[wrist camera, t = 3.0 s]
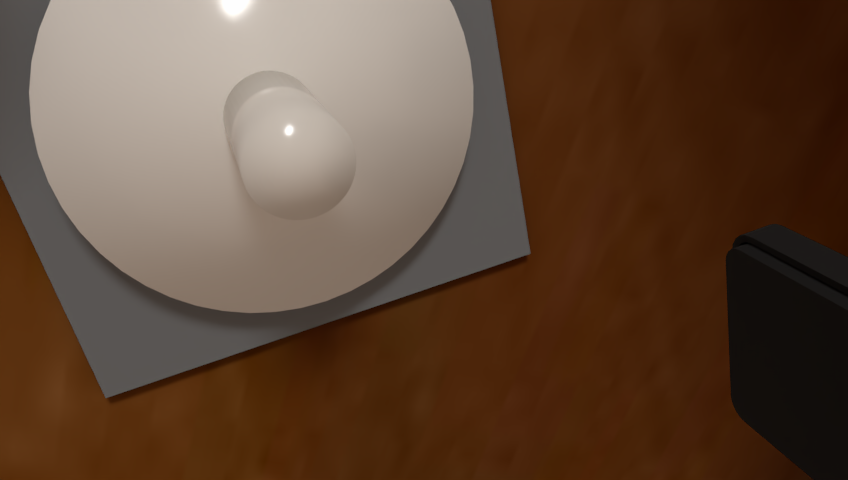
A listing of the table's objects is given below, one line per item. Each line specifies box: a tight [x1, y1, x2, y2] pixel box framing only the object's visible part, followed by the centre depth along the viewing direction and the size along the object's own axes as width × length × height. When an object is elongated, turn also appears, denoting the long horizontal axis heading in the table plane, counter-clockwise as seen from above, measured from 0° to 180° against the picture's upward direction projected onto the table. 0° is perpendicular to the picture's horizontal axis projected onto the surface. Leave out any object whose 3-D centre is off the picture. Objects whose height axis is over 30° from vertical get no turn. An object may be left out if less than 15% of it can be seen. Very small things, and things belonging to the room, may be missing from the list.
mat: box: [0, 0, 530, 398], centre depth 28 cm, size 18×18×1 cm
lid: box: [29, 0, 473, 313], centre depth 25 cm, size 15×15×7 cm
